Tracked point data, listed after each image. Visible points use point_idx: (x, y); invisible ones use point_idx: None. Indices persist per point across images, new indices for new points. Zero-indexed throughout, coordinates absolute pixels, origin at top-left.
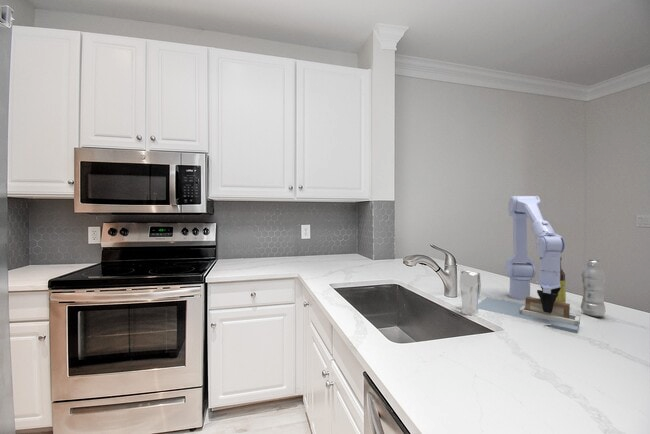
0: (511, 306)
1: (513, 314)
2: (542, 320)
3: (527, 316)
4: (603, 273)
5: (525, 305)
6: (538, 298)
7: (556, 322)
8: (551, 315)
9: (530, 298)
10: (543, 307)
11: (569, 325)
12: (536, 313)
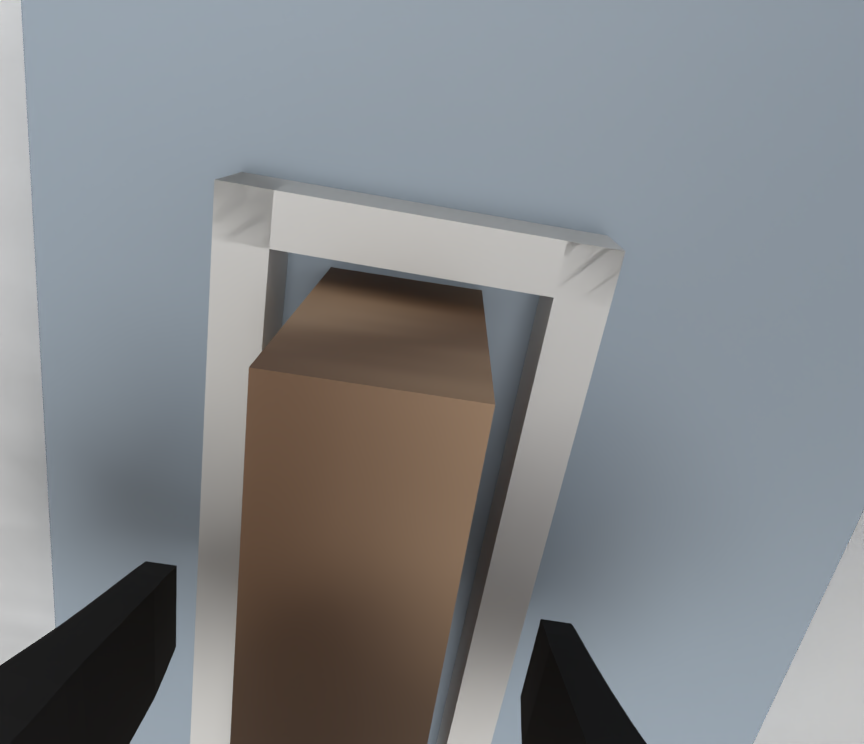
0: (677, 17)
1: (123, 74)
2: (133, 474)
3: (182, 296)
4: None
5: (298, 309)
6: (442, 625)
7: (178, 608)
8: (229, 613)
9: (316, 474)
10: (92, 613)
11: (169, 705)
12: (207, 440)
